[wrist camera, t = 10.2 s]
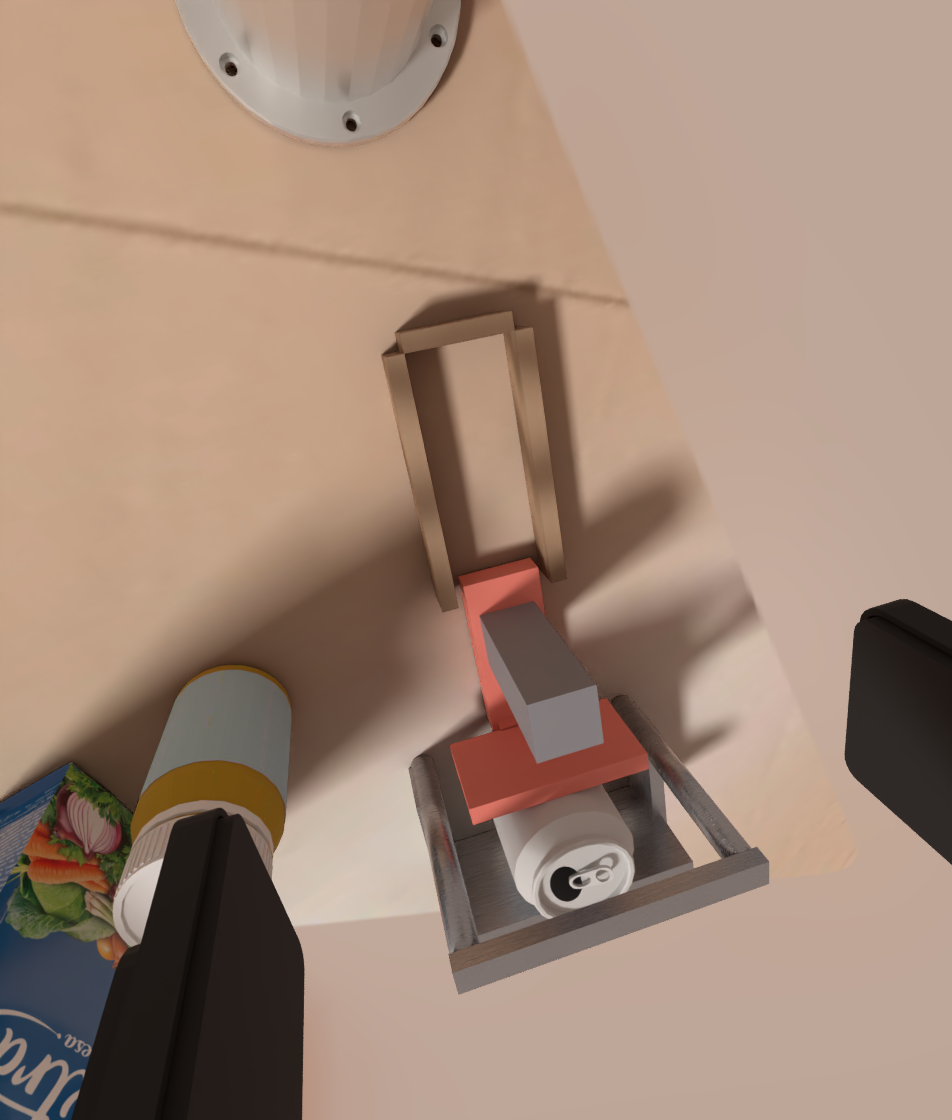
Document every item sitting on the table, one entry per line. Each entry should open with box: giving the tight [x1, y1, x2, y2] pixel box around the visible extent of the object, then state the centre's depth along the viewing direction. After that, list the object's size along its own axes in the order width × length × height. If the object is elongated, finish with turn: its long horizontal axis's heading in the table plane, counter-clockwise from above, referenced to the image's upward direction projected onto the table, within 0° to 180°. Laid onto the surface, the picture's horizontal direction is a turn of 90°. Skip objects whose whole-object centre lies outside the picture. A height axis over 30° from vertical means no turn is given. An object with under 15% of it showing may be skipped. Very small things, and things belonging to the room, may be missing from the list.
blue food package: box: [0, 762, 133, 1120], centre depth 30 cm, size 6×12×25 cm, turn 28°
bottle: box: [113, 665, 292, 947], centre depth 34 cm, size 7×7×15 cm
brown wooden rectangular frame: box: [381, 311, 567, 612], centre depth 37 cm, size 16×8×2 cm, turn 10°
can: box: [493, 784, 635, 919], centre depth 42 cm, size 8×8×12 cm
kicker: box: [450, 558, 649, 825], centre depth 38 cm, size 12×11×12 cm
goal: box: [409, 695, 769, 994], centre depth 41 cm, size 10×17×16 cm, turn 100°
